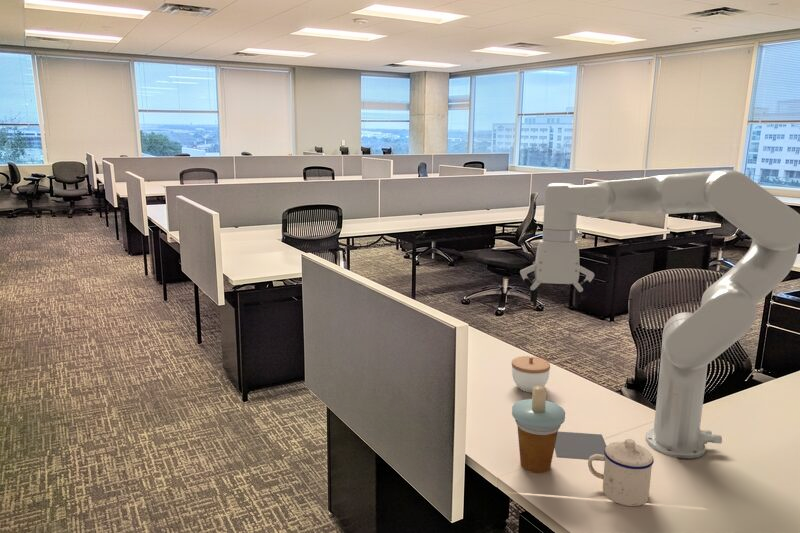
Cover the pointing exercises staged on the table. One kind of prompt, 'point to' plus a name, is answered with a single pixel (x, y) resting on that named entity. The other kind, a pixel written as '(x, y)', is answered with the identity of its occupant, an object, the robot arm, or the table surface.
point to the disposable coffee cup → (536, 447)
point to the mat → (579, 445)
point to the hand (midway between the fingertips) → (554, 305)
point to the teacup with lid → (625, 472)
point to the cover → (538, 410)
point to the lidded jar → (530, 372)
